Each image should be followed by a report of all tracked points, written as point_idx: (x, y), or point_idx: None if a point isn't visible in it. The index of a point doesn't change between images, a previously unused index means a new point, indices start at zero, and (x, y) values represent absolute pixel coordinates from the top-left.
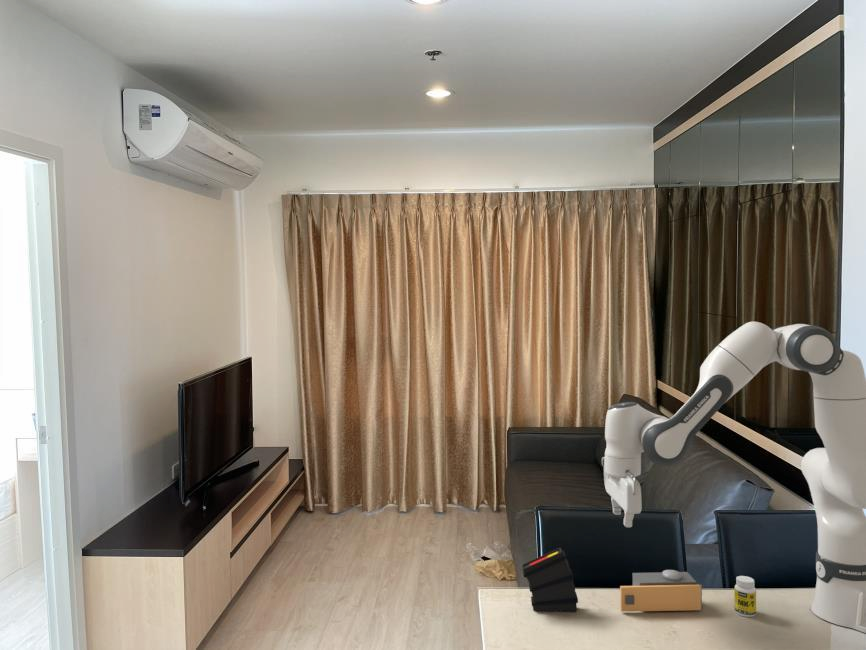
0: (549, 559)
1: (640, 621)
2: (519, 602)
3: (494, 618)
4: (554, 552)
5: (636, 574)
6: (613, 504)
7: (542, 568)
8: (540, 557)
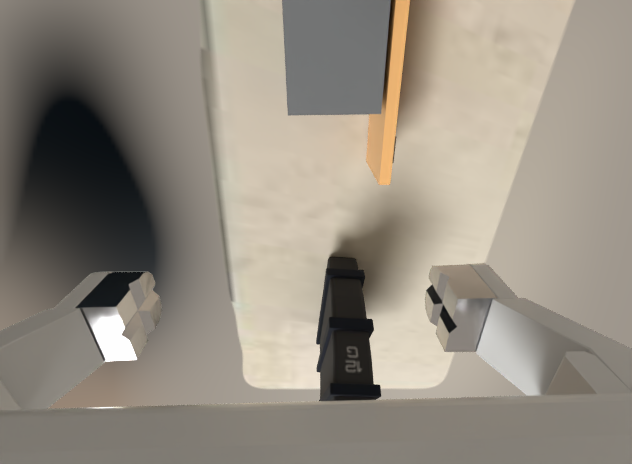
0: None
1: (423, 120)
2: (303, 346)
3: None
4: None
5: (303, 103)
6: (74, 380)
7: None
8: None
